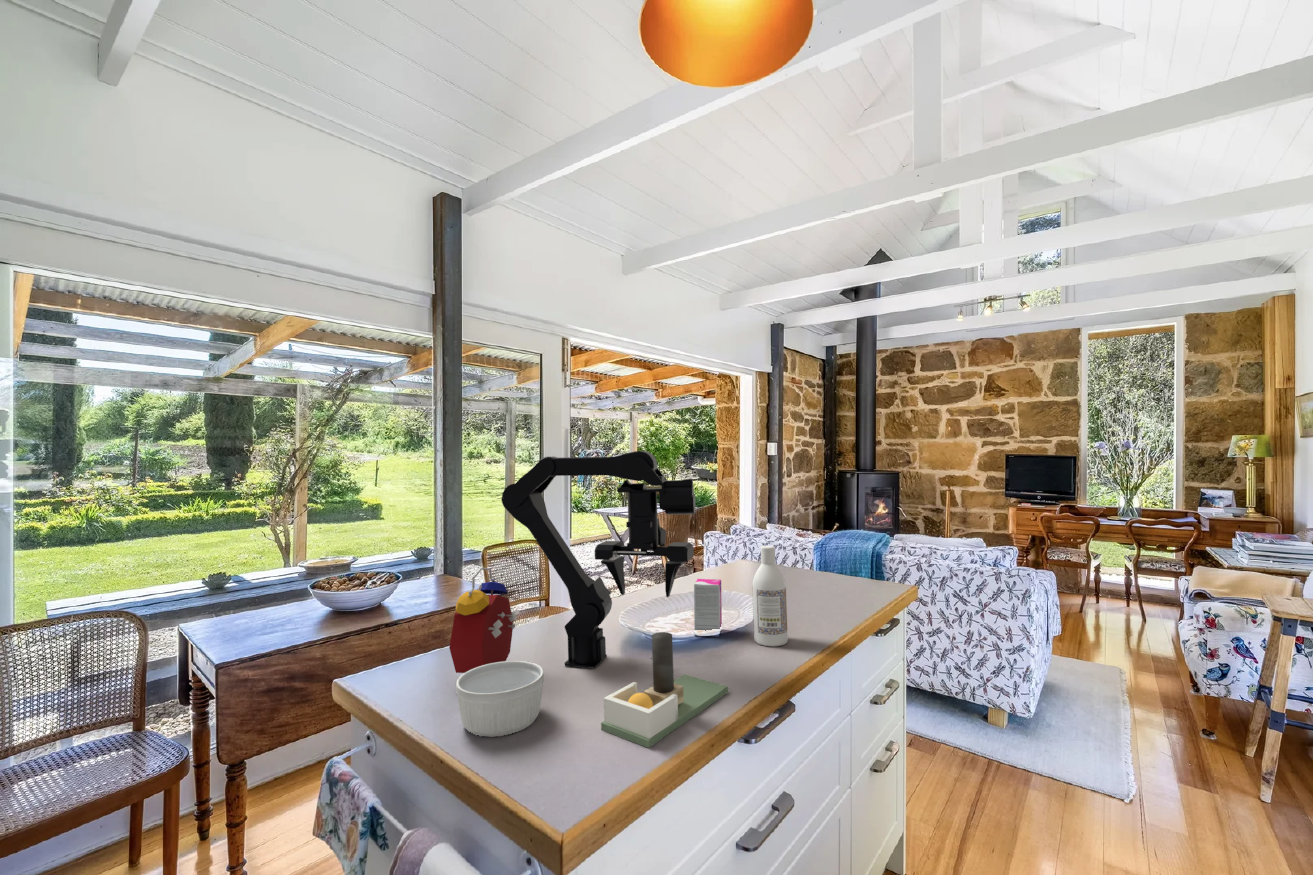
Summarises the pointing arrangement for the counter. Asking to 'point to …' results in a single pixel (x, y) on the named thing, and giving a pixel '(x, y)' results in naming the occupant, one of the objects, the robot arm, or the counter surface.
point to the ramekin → (500, 697)
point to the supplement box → (707, 604)
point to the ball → (641, 700)
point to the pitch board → (695, 701)
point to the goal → (639, 712)
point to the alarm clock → (482, 626)
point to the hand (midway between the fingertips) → (645, 595)
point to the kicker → (663, 670)
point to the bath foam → (769, 601)
